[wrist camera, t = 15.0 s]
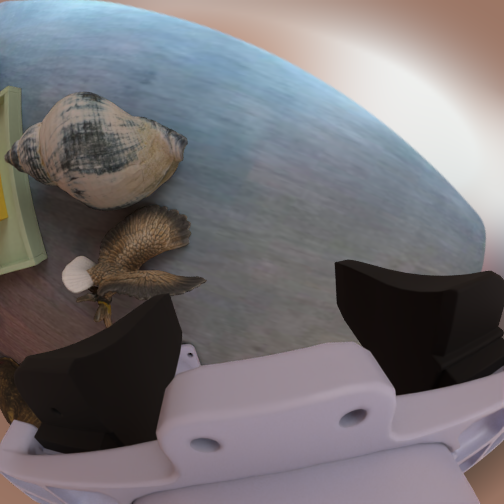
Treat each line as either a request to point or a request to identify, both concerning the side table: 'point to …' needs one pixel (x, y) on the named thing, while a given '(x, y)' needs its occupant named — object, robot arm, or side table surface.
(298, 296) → the side table surface
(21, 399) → the seashell
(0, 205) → the sponge
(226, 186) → the side table surface
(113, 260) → the eagle figurine
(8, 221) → the tray
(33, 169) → the seashell
